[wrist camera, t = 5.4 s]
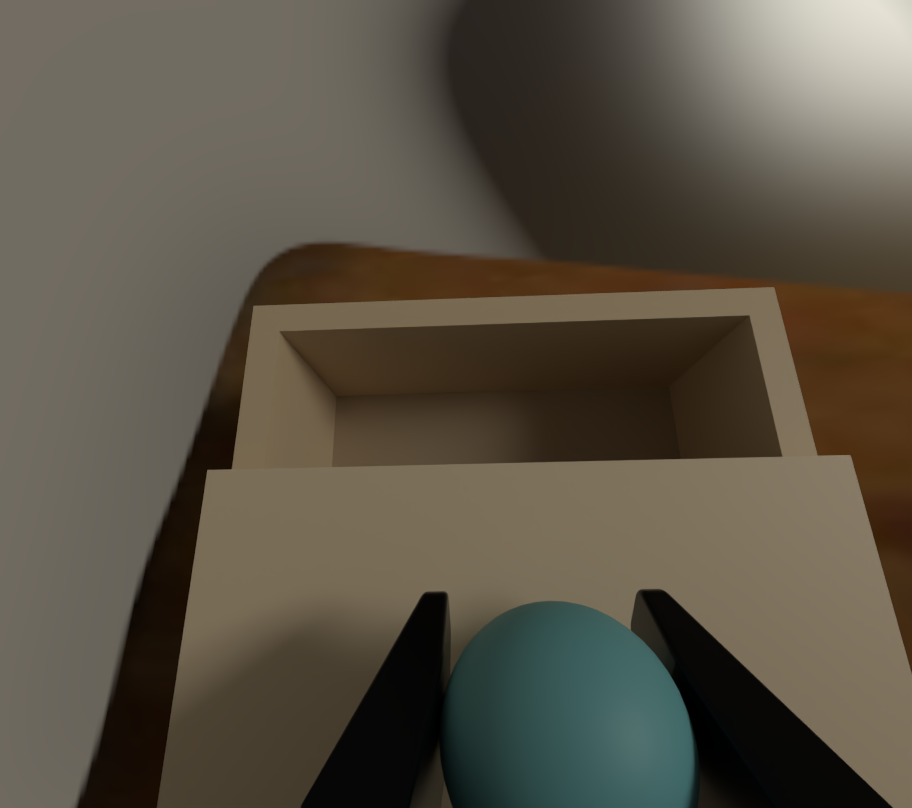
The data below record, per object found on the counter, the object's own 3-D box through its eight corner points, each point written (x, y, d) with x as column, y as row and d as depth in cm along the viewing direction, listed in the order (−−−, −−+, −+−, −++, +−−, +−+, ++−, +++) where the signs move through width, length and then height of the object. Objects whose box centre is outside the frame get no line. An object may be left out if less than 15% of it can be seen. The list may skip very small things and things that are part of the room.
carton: (744, 735, 14) (919, 852, 9) (294, 736, 15) (181, 848, 9) (680, 371, 18) (773, 287, 12) (322, 382, 19) (253, 306, 13)
